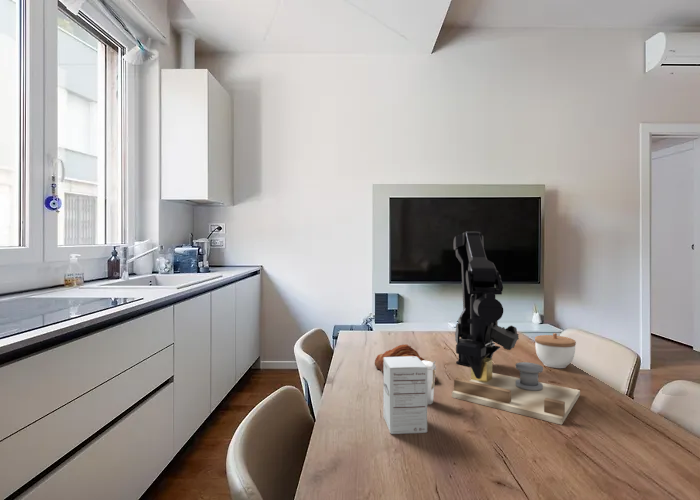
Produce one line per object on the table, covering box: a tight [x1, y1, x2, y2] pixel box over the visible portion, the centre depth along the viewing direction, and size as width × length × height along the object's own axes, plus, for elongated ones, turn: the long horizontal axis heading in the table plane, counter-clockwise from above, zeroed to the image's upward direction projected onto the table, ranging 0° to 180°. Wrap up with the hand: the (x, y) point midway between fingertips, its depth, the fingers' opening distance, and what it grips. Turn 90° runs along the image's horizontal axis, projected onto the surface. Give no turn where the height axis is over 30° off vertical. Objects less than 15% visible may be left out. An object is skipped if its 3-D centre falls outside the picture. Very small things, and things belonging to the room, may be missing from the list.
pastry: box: [374, 343, 437, 384], centre depth 110 cm, size 17×15×8 cm
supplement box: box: [382, 356, 428, 435], centre depth 78 cm, size 7×7×13 cm
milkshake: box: [422, 359, 437, 405], centre depth 90 cm, size 4×5×10 cm
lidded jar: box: [534, 332, 577, 369], centre depth 118 cm, size 11×11×9 cm
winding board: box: [451, 372, 581, 426], centre depth 93 cm, size 23×20×4 cm
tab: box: [470, 358, 493, 382], centre depth 102 cm, size 4×4×5 cm
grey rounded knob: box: [515, 361, 544, 391], centre depth 96 cm, size 6×6×5 cm
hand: (481, 376), depth 102 cm, fingers open, 4 cm apart
